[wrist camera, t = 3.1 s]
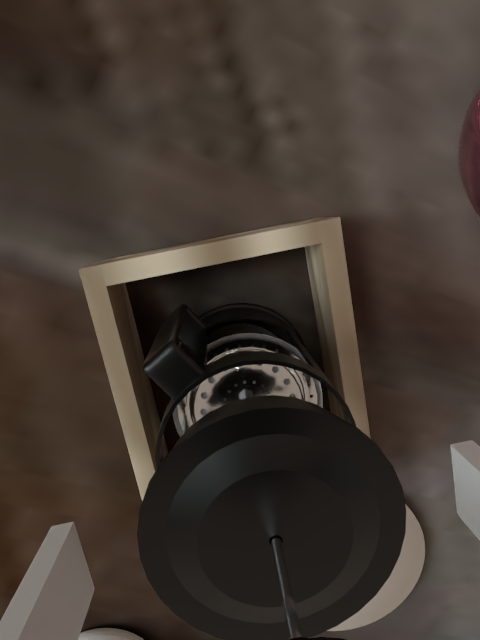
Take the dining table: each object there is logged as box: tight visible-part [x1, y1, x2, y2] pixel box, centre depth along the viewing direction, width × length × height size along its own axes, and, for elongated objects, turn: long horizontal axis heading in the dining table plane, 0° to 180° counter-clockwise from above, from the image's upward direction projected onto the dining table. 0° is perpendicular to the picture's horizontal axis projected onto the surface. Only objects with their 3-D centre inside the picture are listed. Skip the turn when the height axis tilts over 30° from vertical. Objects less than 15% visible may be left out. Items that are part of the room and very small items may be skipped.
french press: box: [137, 303, 406, 640], centre depth 20 cm, size 12×9×23 cm
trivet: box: [327, 504, 425, 631], centre depth 35 cm, size 13×13×1 cm
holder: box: [79, 217, 371, 501], centre depth 29 cm, size 14×17×5 cm
